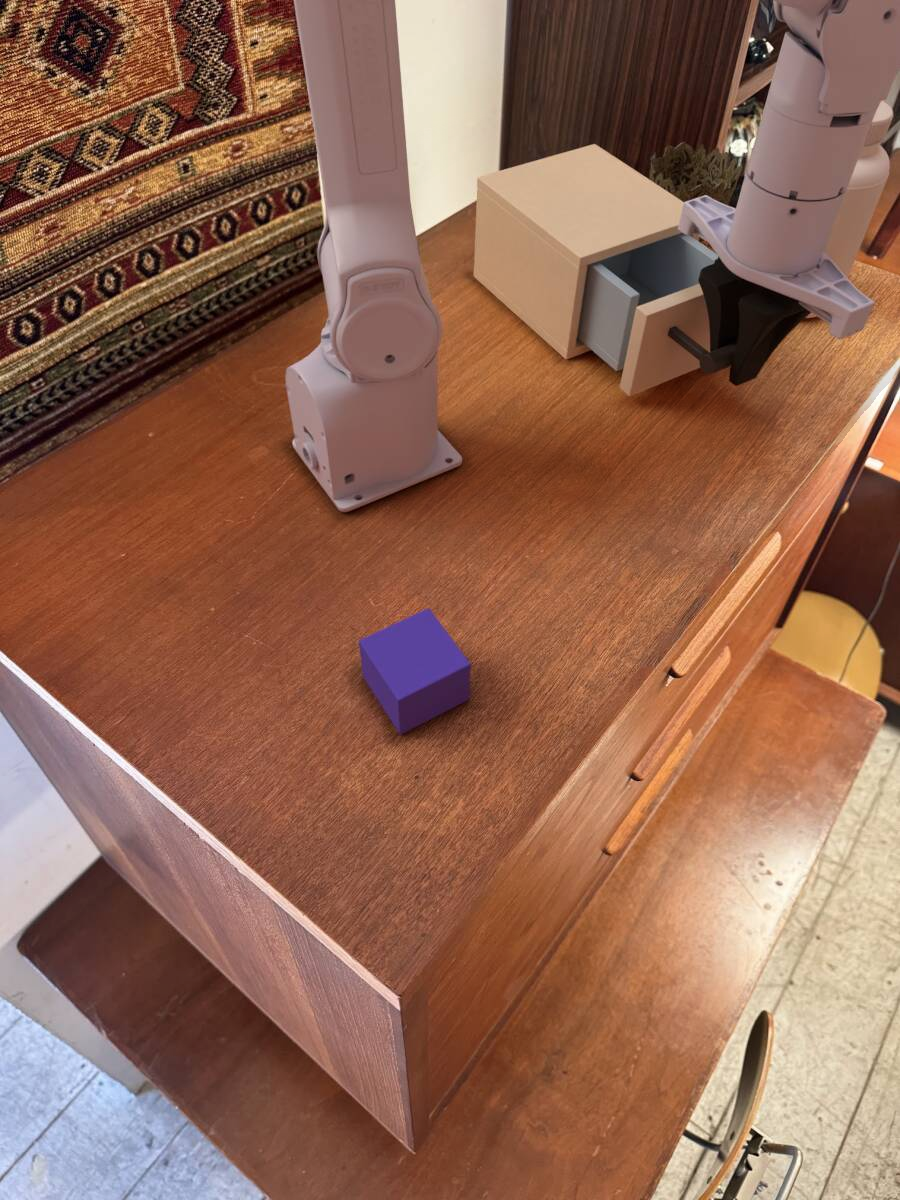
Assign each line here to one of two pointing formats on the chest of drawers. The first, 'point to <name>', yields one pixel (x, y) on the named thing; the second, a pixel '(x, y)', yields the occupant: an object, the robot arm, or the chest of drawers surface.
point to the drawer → (651, 313)
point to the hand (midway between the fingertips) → (733, 371)
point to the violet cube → (415, 670)
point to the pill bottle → (861, 195)
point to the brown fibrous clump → (695, 173)
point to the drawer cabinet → (563, 233)
